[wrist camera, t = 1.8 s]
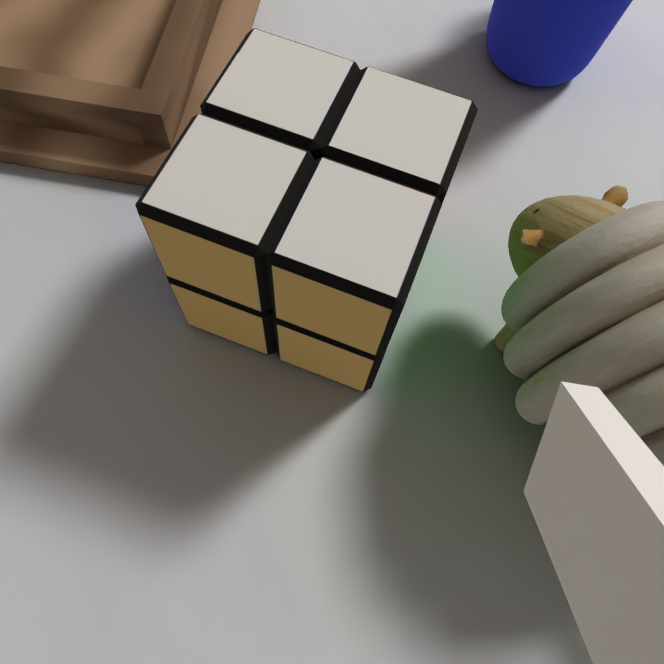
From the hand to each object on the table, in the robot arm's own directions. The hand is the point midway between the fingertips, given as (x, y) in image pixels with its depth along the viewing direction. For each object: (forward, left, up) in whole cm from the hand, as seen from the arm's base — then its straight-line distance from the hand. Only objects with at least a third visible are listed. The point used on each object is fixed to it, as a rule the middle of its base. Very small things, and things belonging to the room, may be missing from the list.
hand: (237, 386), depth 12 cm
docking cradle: (+17, -25, -15) cm, 33 cm away
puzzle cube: (0, -11, -15) cm, 19 cm away
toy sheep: (-14, -6, -15) cm, 22 cm away
